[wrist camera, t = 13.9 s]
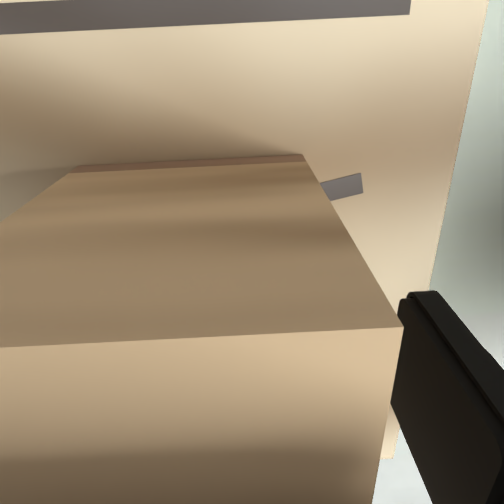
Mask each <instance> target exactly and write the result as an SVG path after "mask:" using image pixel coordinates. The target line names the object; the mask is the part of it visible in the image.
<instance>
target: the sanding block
mask: <svg viewBox="0 0 504 504" xmlns="http://www.w3.org/2000/svg"><path fill="white" fill-rule="evenodd" d="M403 329H404V326H403V325H402V323H401V321H400V320H399V318H398V316H397V314H396V313H395V311H394V309H393V308H392V306H391V304H390V302H389V301H388V299H387V297H386V296H385V294H384V292H383V291H382V289H381V287H380V285H379V284H378V282H377V280H376V279H375V277H374V275H373V274H372V272H371V270H370V268H369V267H368V265H367V263H366V262H365V260H364V258H363V257H362V255H361V253H360V251H359V250H358V248H357V246H356V245H355V243H354V241H353V240H352V238H351V236H350V234H349V233H348V231H347V229H346V228H345V226H344V224H343V222H342V221H341V219H340V217H339V216H338V214H337V212H336V211H335V209H334V207H333V205H332V204H331V202H330V200H329V199H328V197H327V195H326V194H325V192H324V190H323V188H322V187H321V185H320V183H319V182H318V180H317V178H316V177H315V175H314V173H313V171H312V170H311V168H310V166H309V165H308V163H307V161H306V160H305V158H304V156H303V154H301V155H281V156H261V157H241V158H221V159H201V160H181V161H161V162H141V163H121V164H101V165H81V166H78V167H76V168H75V169H74V170H72V171H71V172H69V173H68V174H67V175H65V176H64V177H62V178H61V179H60V180H58V181H57V182H55V183H54V184H53V185H51V186H50V187H49V188H47V189H46V190H44V191H43V192H42V193H40V194H39V195H37V196H36V197H35V198H33V199H32V200H31V201H29V202H28V203H26V204H25V205H24V206H22V207H21V208H19V209H18V210H17V211H15V212H14V213H12V214H11V215H10V216H8V217H7V218H6V219H4V220H3V221H1V222H0V504H372V499H373V494H374V488H375V483H376V477H377V472H378V466H379V461H380V455H381V450H382V444H383V439H384V433H385V428H386V422H387V417H388V411H389V406H390V401H391V395H392V390H393V384H394V379H395V373H396V368H397V362H398V357H399V351H400V346H401V340H402V335H403Z"/></svg>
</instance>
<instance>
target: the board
mask: <svg viewBox="0 0 504 504" xmlns="http://www.w3.org/2000/svg"><path fill="white" fill-rule="evenodd" d="M488 3H489V0H0V222H1V221H3V220H4V219H6V218H7V217H8V216H10V215H11V214H12V213H14V212H15V211H17V210H18V209H19V208H21V207H22V206H24V205H25V204H26V203H28V202H29V201H31V200H32V199H33V198H35V197H36V196H37V195H39V194H40V193H42V192H43V191H44V190H46V189H47V188H49V187H50V186H51V185H53V184H54V183H55V182H57V181H58V180H60V179H61V178H62V177H64V176H65V175H67V174H68V173H69V172H71V171H72V170H74V169H75V168H76V167H78V166H81V165H101V164H121V163H141V162H161V161H181V160H201V159H221V158H241V157H261V156H281V155H301V154H303V156H304V158H305V160H306V161H307V163H308V165H309V166H310V168H311V170H312V171H313V173H314V175H315V177H316V178H317V180H318V182H319V183H320V185H321V187H322V188H323V190H324V192H325V194H326V195H327V197H328V199H329V200H330V202H331V204H332V205H333V207H334V209H335V211H336V212H337V214H338V216H339V217H340V219H341V221H342V222H343V224H344V226H345V228H346V229H347V231H348V233H349V234H350V236H351V238H352V240H353V241H354V243H355V245H356V246H357V248H358V250H359V251H360V253H361V255H362V257H363V258H364V260H365V262H366V263H367V265H368V267H369V268H370V270H371V272H372V274H373V275H374V277H375V279H376V280H377V282H378V284H379V285H380V287H381V289H382V291H383V292H384V294H385V296H386V297H387V299H388V301H389V302H390V304H391V306H392V308H393V309H394V311H395V313H396V314H397V311H398V306H399V301H400V300H401V299H402V298H406V297H407V295H408V293H409V292H414V291H428V290H429V285H430V280H431V275H432V271H433V266H434V261H435V256H436V251H437V247H438V242H439V237H440V232H441V227H442V223H443V218H444V213H445V208H446V204H447V199H448V194H449V189H450V184H451V180H452V175H453V170H454V165H455V161H456V156H457V151H458V146H459V141H460V137H461V132H462V127H463V122H464V117H465V113H466V108H467V103H468V98H469V94H470V89H471V84H472V79H473V74H474V70H475V65H476V60H477V55H478V50H479V46H480V41H481V36H482V31H483V27H484V22H485V17H486V12H487V7H488ZM399 428H400V425H399V423H398V420H397V418H396V416H395V413H394V411H393V409H392V406H391V404H390V406H389V411H388V417H387V422H386V428H385V433H384V439H383V444H382V450H381V455H380V459H393V457H394V452H395V448H396V443H397V438H398V433H399Z"/></svg>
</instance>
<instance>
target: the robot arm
mask: <svg viewBox="0 0 504 504" xmlns="http://www.w3.org/2000/svg"><path fill="white" fill-rule="evenodd" d="M397 316H398V318H399V320H400V321H401V323H402V325H403V326H404V329H403V335H402V340H401V346H400V351H399V357H398V362H397V368H396V373H395V379H394V384H393V390H392V395H391V401H390V404H391V406H392V409H393V411H394V413H395V416H396V418H397V420H398V423H399V425H400V428H401V430H402V432H403V435H404V437H405V439H406V442H407V444H408V446H409V449H410V451H411V454H412V456H413V458H414V461H415V463H416V465H417V468H418V470H419V473H420V475H421V477H422V480H423V482H424V484H425V487H426V489H427V491H428V494H429V496H430V499H431V501H432V503H433V504H504V370H503V369H502V368H501V366H500V365H499V364H498V363H497V361H496V360H495V359H494V358H493V357H492V355H491V354H490V353H489V352H488V351H487V350H486V349H484V348H483V347H482V345H481V344H480V343H479V342H478V340H477V339H476V338H475V337H474V335H473V334H472V333H471V332H470V331H469V329H468V328H467V327H466V326H465V324H464V323H463V322H462V321H461V319H460V318H459V317H458V316H457V315H456V313H455V312H454V311H453V310H452V308H451V307H450V306H449V305H448V303H447V302H446V301H445V300H444V299H443V297H442V296H441V295H440V294H439V293H438V292H437V291H434V290H433V291H414V292H409V293H408V295H407V297H406V298H402V299H401V300H400V301H399V306H398V311H397Z"/></svg>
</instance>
